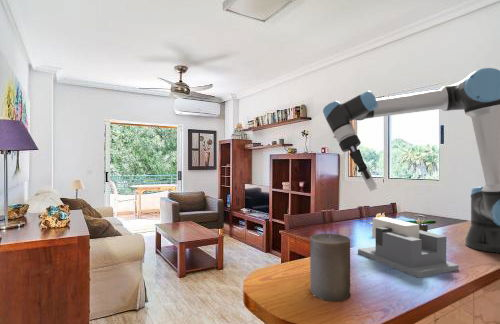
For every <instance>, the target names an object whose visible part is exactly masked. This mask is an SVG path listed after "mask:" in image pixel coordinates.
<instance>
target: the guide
mask: <svg viewBox="0 0 500 324" xmlns="http://www.w3.org/2000/svg"><path fill="white" fill-rule="evenodd" d="M357 254H358V255H361V256H364V257H367V258H369V259H371V260H373V261H377V262H378V263H381V264H384V265H386V266H388V267H391V268H394V269H395V270H398V271H401V272H403V273H405V274H408V275H411V276H413V277H414V278H422V277H423V278H424V277H427V276H432V275H438V274H443V273H450V272H453V271H454V272H455V271H459V267H460V266H459V264H457V263H453V262H451V261H448V260H447V236H445V235H442V234H438V233H433V232H428V231H427V232H426V231H422V230H419V239H418V238H414V237H410V236H407V235H403V234H399V233H396V232H392V228H388V227H376V239H375V246H371V247H364V248H363V247H362V248H358V249H357Z"/></svg>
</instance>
